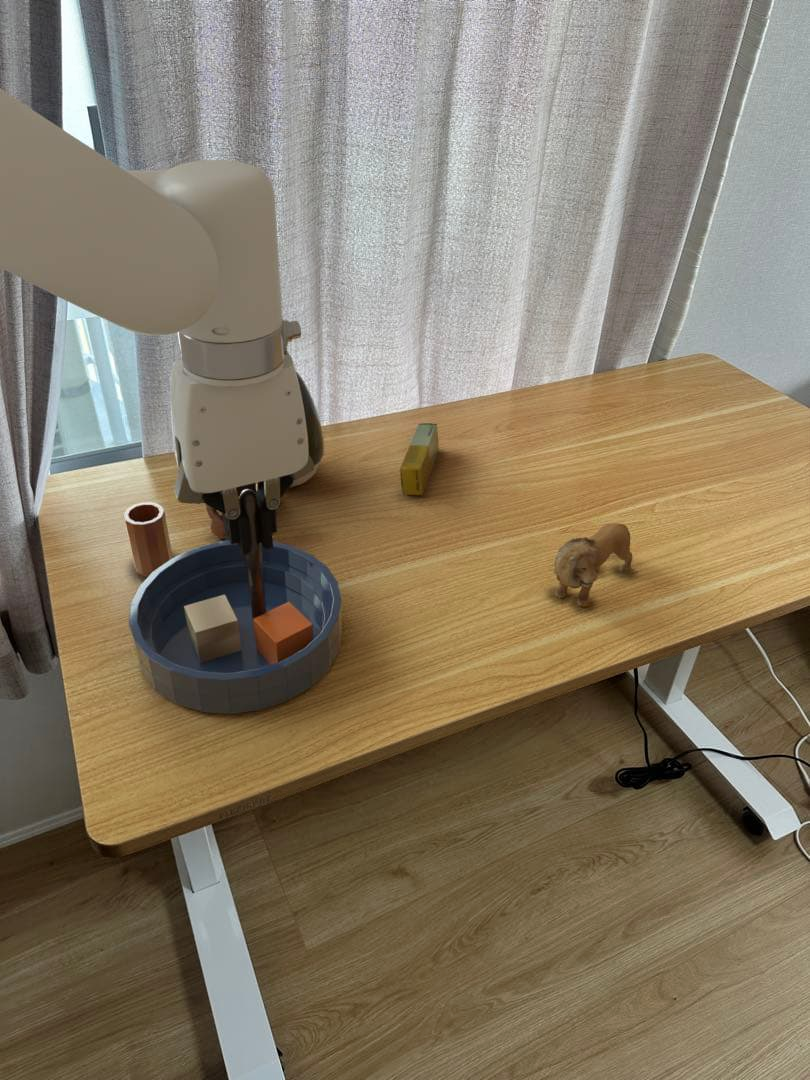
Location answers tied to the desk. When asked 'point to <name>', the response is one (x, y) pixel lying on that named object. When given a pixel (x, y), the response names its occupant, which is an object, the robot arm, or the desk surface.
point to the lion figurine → (590, 559)
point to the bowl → (244, 673)
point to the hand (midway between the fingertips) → (252, 542)
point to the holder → (148, 536)
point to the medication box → (419, 459)
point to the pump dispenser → (311, 431)
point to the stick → (254, 554)
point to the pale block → (212, 628)
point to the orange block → (282, 633)
